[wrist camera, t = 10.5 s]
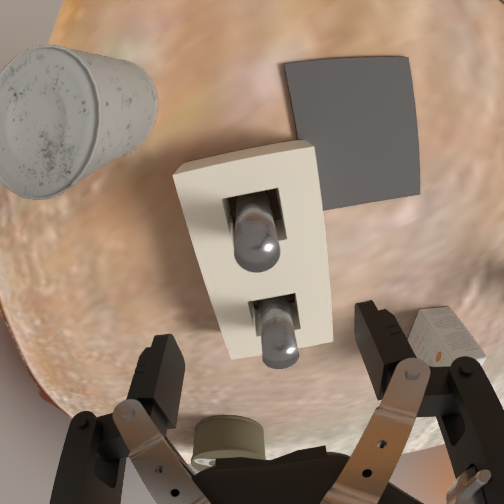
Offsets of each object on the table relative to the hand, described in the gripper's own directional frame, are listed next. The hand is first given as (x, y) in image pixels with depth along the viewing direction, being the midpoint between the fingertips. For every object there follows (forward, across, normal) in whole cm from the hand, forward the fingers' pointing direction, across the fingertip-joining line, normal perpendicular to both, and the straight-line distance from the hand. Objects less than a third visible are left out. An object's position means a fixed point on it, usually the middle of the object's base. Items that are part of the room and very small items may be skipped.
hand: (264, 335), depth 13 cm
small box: (+18, -20, +22) cm, 35 cm away
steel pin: (+18, 0, 0) cm, 18 cm away
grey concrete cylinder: (+18, +11, -12) cm, 24 cm away
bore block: (+18, 0, +5) cm, 19 cm away
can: (+18, +12, +39) cm, 44 cm away
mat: (+18, -11, -5) cm, 22 cm away
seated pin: (+18, 0, +10) cm, 21 cm away
